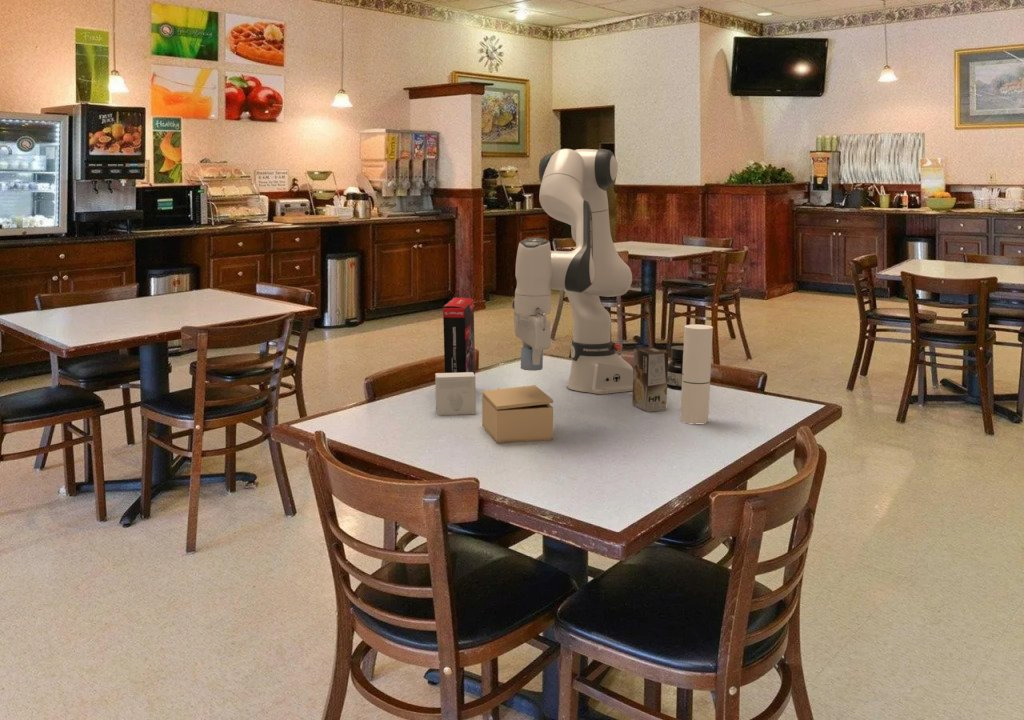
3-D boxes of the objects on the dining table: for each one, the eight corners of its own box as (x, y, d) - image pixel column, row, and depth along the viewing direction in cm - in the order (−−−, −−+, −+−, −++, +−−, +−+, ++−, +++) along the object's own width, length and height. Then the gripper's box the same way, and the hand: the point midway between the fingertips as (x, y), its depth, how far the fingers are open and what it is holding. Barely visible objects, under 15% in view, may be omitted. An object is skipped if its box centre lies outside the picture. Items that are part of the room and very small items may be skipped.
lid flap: (535, 388, 240) (535, 385, 240) (553, 403, 225) (553, 399, 225) (482, 394, 237) (481, 391, 237) (496, 409, 222) (496, 406, 222)
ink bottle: (658, 385, 285) (660, 346, 282) (680, 381, 289) (681, 343, 287) (680, 391, 277) (682, 352, 274) (702, 388, 281) (704, 349, 279)
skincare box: (473, 408, 256) (473, 371, 254) (476, 414, 250) (476, 376, 248) (435, 409, 254) (434, 372, 252) (436, 415, 248) (436, 377, 246)
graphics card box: (467, 402, 263) (467, 306, 257) (443, 401, 263) (442, 305, 258) (475, 388, 279) (475, 297, 274) (452, 387, 280) (452, 297, 274)
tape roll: (539, 365, 234) (539, 345, 233) (545, 370, 229) (545, 349, 228) (518, 366, 233) (518, 345, 232) (523, 370, 227) (524, 349, 226)
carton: (534, 422, 242) (535, 392, 241) (552, 439, 227) (553, 407, 225) (482, 425, 239) (482, 395, 237) (496, 443, 224) (496, 410, 222)
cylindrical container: (704, 417, 248) (709, 324, 243) (710, 424, 241) (715, 329, 236) (677, 417, 248) (681, 324, 243) (683, 424, 241) (687, 329, 236)
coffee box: (667, 410, 255) (669, 352, 252) (646, 412, 253) (648, 354, 250) (651, 402, 264) (653, 346, 261) (630, 404, 262) (632, 348, 258)
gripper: (557, 311, 219) (556, 369, 221) (534, 300, 238) (532, 353, 241) (531, 312, 217) (530, 370, 220) (510, 300, 236) (509, 354, 239)
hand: (531, 361), depth 230 cm, fingers closed on tape roll, 5 cm apart
